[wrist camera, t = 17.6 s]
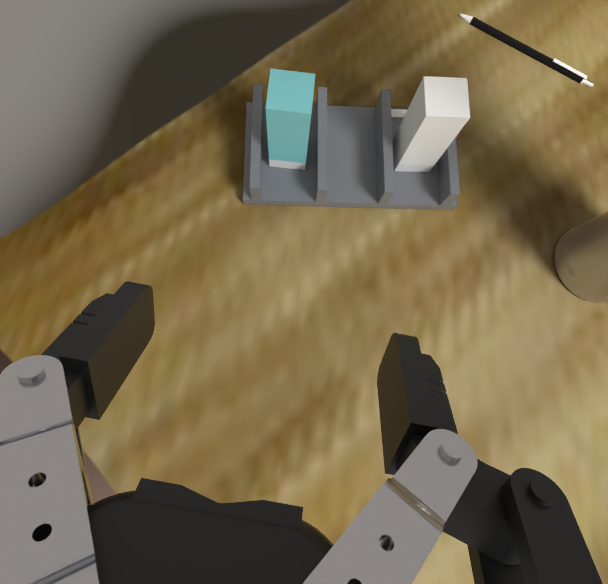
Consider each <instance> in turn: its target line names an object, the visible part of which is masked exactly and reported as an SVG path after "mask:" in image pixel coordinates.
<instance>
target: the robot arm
mask: <svg viewBox="0 0 608 584" xmlns="http://www.w3.org/2000/svg"><path fill="white" fill-rule="evenodd" d="M554 256H555V266H556V271H557V273H558V275H559V277H560V279H561V281H562V282H563V283H564V285H565V286H566V287H567V288H568V289H569V290H570V291H571V292H572V293H574V294H575V295H577V296H578V297H580V298H582V299H584V300H587V301H591V302H608V211H607V212H605V213H603V214H601V215H598V216H596V217H594V218H592V219H590V220H588V221H586V222H584V223H582V224H580V225H578V226H575V227H573V228H571V229H569V230H568V231H567V232H565V233H564V234H563V236H562V237H561V238H560V239H559V241H558V243H557V245H556V249H555V254H554ZM154 325H155V320H154V303H153V290H152V287H151V286H149V285H144V284H138V283H133V282H125V283H124V284H123V285H122V286H121V287H120V288H119V289H118V290H117V292H116V293H115V294H114V295H113V294H108V293H107V294H105V295H103V296H101V297H99V298H97V299H95V300H93V301H92V302H91V303H90V304H89V305H88V306H87V307H86V308H85V309H84V310H83V311H82V313H81V314H79V315H78V316H77V317H76V318H75V320H74V321H73V323H71V324H70V325H69V326H68V327H67V328H66V329H65V330H64V331H63V332H62V333H61V334H60V335H59V336H58V337H57V338H56V340H55V341H54V342H53V343H52V344H51V345H50V346H49V347H48V348H47V349H46V350H45V351H44V352H43V353H42V354H41V355H35V356H29V357H26V358H23V359H20V360H18V361H16V362H14V363H12V364H11V365H9V366H8V367H6V368H5V369H4V371H2V372H0V584H412V583H413V581H414V579H415V578H416V576H417V574H418V573H419V571H420V569H421V567H422V566H423V564H424V562H425V560H426V559H427V557H428V555H429V554H430V552H431V550H432V548H433V547H434V545H435V543H436V542H437V540H438V538H439V536H440V535H441V533H442V531H443V532H445V533H447V534H449V535H451V536H452V537H454V538H456V539H458V540H460V541H462V542H464V543H466V544H467V545H468V550H469V555H470V561H471V566H472V572H473V577H474V583H475V584H602V581H601V579H600V576H599V574H598V572H597V569H596V567H595V565H594V562H593V560H592V557H591V555H590V553H589V550H588V548H587V545H586V543H585V541H584V538H583V536H582V533H581V531H580V529H579V526H578V524H577V521H576V519H575V517H574V514H573V512H572V509H571V507H570V505H569V502H568V500H567V498H566V496H565V495H564V493H563V492H562V490H561V489H560V488H559V487H558V486H557V485H556V484H555V483H554V482H553V481H552V480H551V479H550V478H548V477H547V476H545V475H544V474H542V473H540V472H538V471H536V470H533V469H529V468H520V469H517V470H515V471H514V472H513V473H512V474H511V476H510V475H508V474H506V473H504V472H502V471H500V470H498V469H496V468H494V467H491V466H489V465H487V464H485V463H483V462H482V461H480V460H479V459H477V457H476V454H475V452H474V450H473V449H472V447H471V446H470V445H469V443H468V442H467V441H466V440H465V439H463V438H462V437H461V436H459V435H458V433H457V429H456V425H455V422H454V418H453V415H452V411H451V407H450V404H449V400H448V397H447V394H446V389H445V386H444V383H443V379H442V375H441V371H440V368H439V367H438V365H437V364H436V363H435V361H434V360H433V359H432V357H431V356H430V355H426V354H421V351H420V346H419V342H418V339H417V337H413V336H408V335H403V334H398V333H393V334H392V336H391V338H390V341H389V343H388V346H387V349H386V351H385V354H384V356H383V359H382V361H381V364H380V367H379V371H378V378H377V387H378V398H379V409H380V421H381V432H382V444H383V455H384V467H385V473H386V474H391V475H394V476H393V477H392V478H391V479H390V478H389V479H388V480H387V481H386V482H385V483H384V484H383V485H382V486H381V487H380V489H379V490H378V491H377V492H376V494H375V495H374V496H373V497H372V499H371V500H370V501H369V502H368V504H367V505H366V506H365V507H364V508H363V510H362V511H361V512H360V513H359V515H358V516H357V517H356V518H355V520H354V521H353V522H352V523H351V525H350V526H349V527H348V528H347V529H346V531H345V532H344V533H343V534H342V536H341V537H340V538H339V539H338V541H337V542H336V543H335V544H334V545H333V544H332V543H331V542H330V541H329V539H328V538H327V537H326V536H325V535H324V534H322V533H321V532H320V531H319V530H318V529H316V528H315V527H313V526H312V525H310V524H309V523H307V522H305V521H303V520H302V512H303V507H299V506H293V505H288V504H282V503H277V502H271V501H266V500H259V501H247V502H235V503H217V502H215V501H213V500H211V499H209V498H207V497H204V496H202V495H200V494H198V493H196V492H194V491H192V490H190V489H188V488H186V487H184V486H182V485H177V484H172V483H166V482H161V481H155V480H150V479H144V478H141V480H140V482H139V484H138V487H137V489H136V491H129V492H124V493H119V494H116V495H113V496H110V497H107V498H105V499H102V500H100V501H98V502H96V503H94V504H93V499H92V495H91V490H90V485H89V481H88V475H87V470H86V465H85V460H84V454H83V449H82V443H81V438H80V433H79V429H78V427H79V425H80V424H81V422H82V421H83V420H84V418H85V417H87V418H93V419H98V420H100V418H101V416H102V415H103V413H104V412H105V410H106V409H107V407H108V406H109V404H110V402H111V401H112V399H113V398H114V396H115V395H116V393H117V391H118V390H119V388H120V387H121V385H122V384H123V382H124V380H125V379H126V377H127V376H128V374H129V373H130V371H131V369H132V368H133V366H134V365H135V363H136V362H137V360H138V359H139V357H140V355H141V354H142V352H143V351H144V349H145V348H146V346H147V344H148V343H149V341H150V339H151V337H152V335H153V331H154Z"/></svg>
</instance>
